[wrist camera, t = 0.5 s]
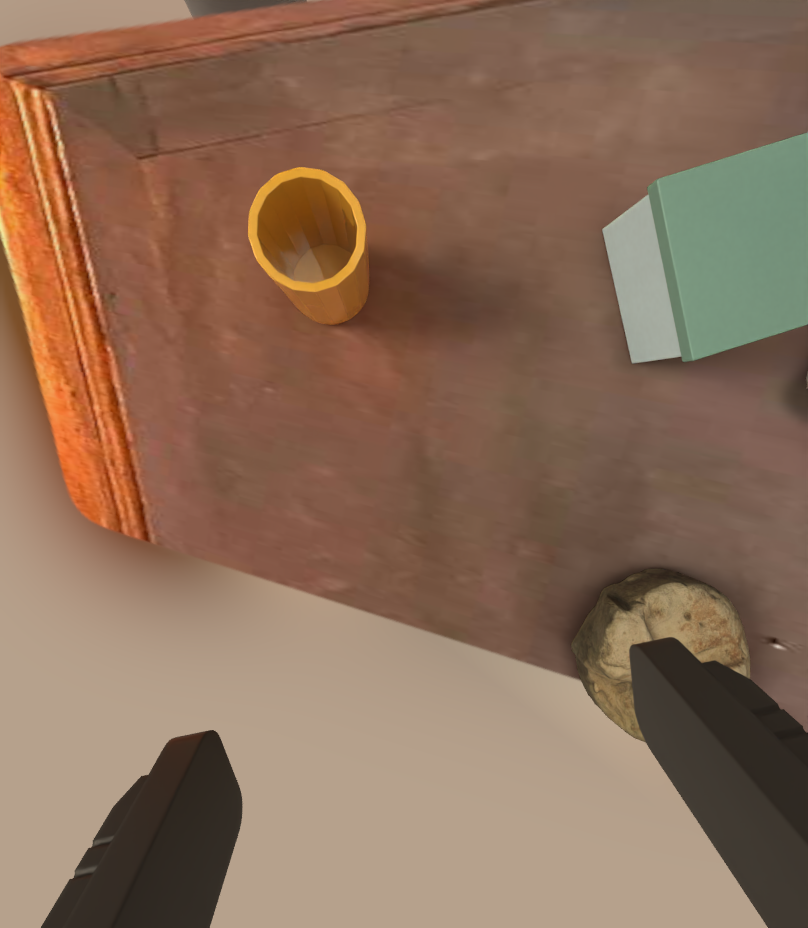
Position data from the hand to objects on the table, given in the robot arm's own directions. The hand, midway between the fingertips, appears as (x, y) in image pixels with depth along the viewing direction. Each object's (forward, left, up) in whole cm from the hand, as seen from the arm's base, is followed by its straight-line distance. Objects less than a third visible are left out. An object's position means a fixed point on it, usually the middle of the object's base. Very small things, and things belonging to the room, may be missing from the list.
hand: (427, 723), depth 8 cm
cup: (-15, 0, -26) cm, 30 cm away
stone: (+21, +18, -28) cm, 39 cm away
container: (-8, +25, -26) cm, 37 cm away
